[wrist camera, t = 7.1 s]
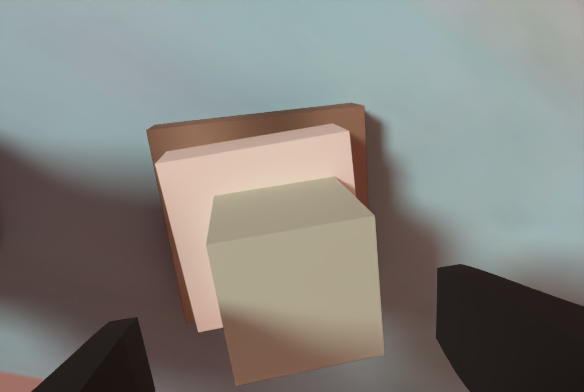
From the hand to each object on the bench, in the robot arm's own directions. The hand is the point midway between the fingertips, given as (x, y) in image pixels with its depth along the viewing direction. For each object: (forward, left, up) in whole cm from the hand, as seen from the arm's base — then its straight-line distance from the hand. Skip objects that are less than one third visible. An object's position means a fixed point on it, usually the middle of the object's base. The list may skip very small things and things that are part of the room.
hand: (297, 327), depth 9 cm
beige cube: (0, 0, -6) cm, 6 cm away
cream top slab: (0, 0, -8) cm, 9 cm away
